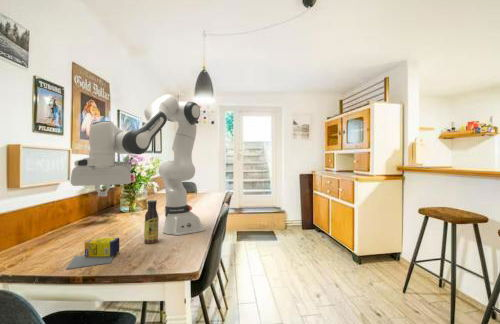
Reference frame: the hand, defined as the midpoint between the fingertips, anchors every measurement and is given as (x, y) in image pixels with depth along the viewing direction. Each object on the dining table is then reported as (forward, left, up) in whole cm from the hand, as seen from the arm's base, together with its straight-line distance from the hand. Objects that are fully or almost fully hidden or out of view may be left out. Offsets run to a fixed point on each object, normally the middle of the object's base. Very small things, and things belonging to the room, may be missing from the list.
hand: (102, 196), depth 95 cm
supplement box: (-4, -2, -22) cm, 22 cm away
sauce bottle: (-18, -14, -25) cm, 34 cm away
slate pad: (+4, 0, -25) cm, 25 cm away
